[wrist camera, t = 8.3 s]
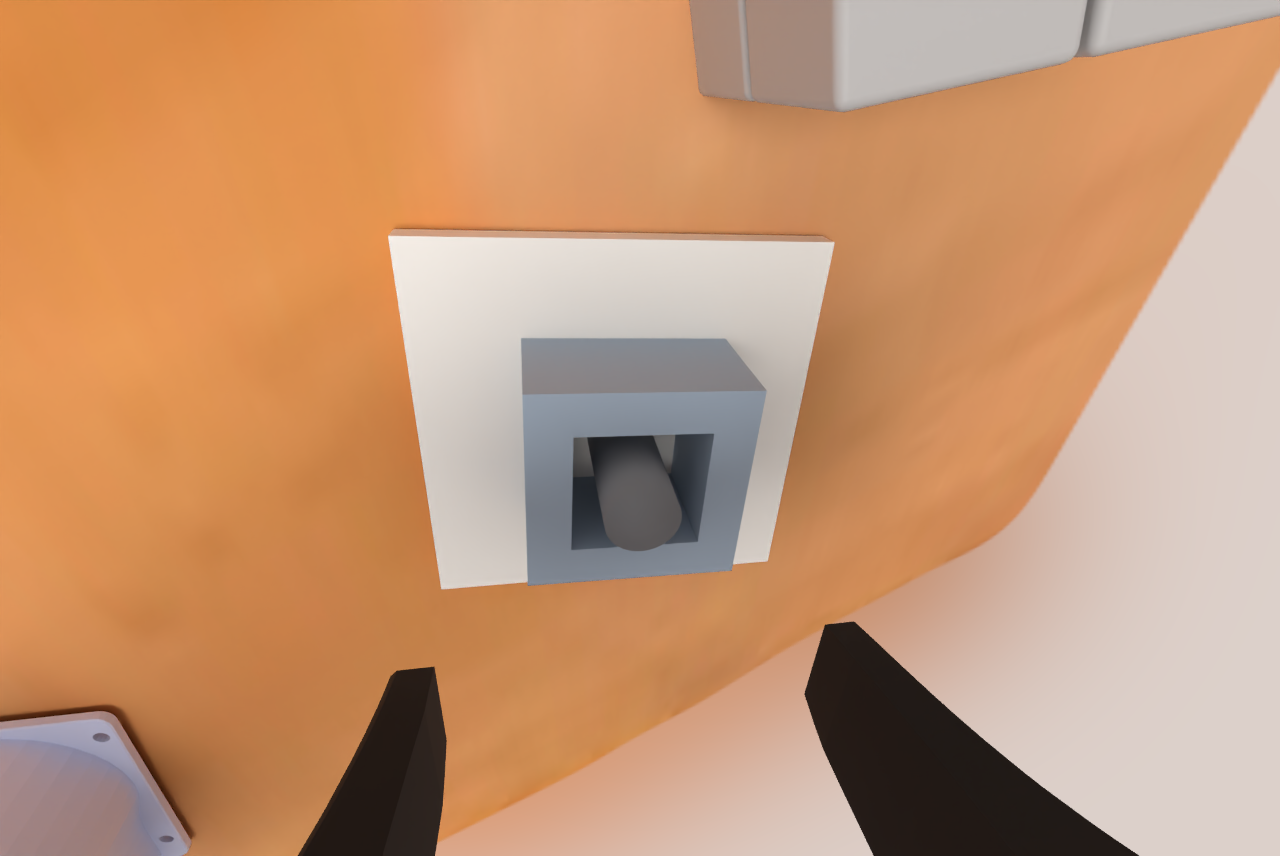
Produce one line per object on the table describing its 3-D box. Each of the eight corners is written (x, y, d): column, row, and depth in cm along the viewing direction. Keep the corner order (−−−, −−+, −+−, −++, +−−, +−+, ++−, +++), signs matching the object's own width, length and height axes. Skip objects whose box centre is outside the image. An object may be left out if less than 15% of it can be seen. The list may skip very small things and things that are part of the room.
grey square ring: (701, 500, 21) (731, 570, 18) (525, 509, 20) (527, 585, 17) (725, 338, 18) (766, 390, 15) (520, 338, 17) (522, 394, 14)
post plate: (760, 547, 24) (816, 655, 19) (443, 573, 22) (425, 701, 17) (822, 235, 18) (923, 288, 13) (393, 228, 16) (346, 289, 11)
